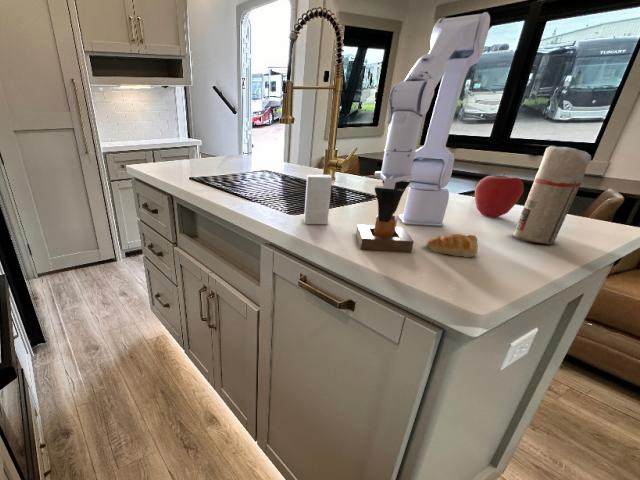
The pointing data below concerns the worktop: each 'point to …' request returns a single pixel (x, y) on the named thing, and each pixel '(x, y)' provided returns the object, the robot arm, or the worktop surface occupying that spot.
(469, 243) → the pastry
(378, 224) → the bottle
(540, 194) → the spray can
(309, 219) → the cosmetic box
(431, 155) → the robot arm
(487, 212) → the apple
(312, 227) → the worktop surface
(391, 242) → the holder
